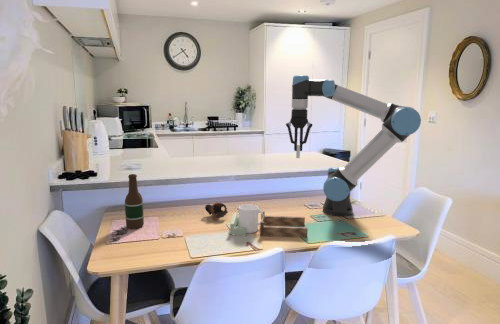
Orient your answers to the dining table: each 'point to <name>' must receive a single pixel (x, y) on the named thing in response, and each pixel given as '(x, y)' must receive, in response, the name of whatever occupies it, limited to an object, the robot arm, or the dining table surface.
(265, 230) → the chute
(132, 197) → the beer bottle
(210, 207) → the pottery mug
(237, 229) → the end stop
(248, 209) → the mug
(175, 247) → the dining table surface
